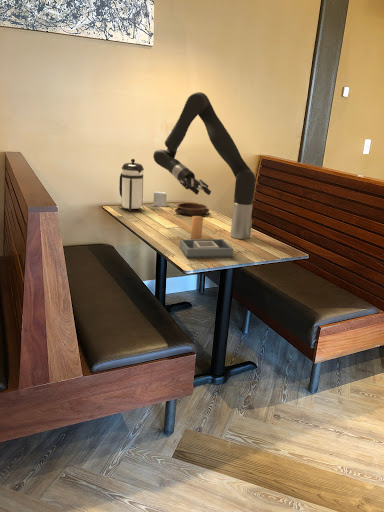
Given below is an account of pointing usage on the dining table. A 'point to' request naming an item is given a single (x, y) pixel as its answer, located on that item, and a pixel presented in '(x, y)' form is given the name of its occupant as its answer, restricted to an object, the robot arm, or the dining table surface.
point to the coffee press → (131, 185)
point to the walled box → (205, 248)
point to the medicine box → (160, 199)
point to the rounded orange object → (196, 227)
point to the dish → (191, 209)
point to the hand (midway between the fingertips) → (204, 193)
